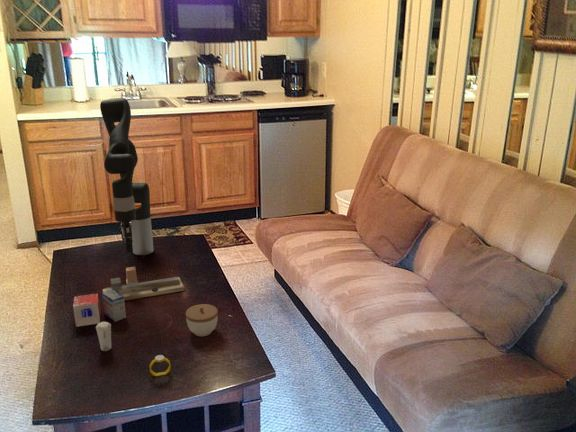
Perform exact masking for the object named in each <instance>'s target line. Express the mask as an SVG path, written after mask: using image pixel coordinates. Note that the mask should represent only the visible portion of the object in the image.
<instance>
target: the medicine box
mask: <svg viewBox="0 0 576 432" xmlns="http://www.w3.org/2000/svg"><path fill="white" fill-rule="evenodd" d="M101 296H102V297H101V299H102V305H103V306H102V307H103V308H102V309H103V314H104V315H105V316H106V317H108V318H109V319H110V320H112V321H113V322H115V323H116V322H118V321H121V320H124V319H126V318H127V315H126V305H125V301H124V297H123V296H122V295H120V294H119V293H117V292H115V291H114V290H110V291H107V292H104V293H103V292H102V293H101Z"/></svg>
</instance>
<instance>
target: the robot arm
mask: <svg viewBox="0 0 576 432" xmlns="http://www.w3.org/2000/svg"><path fill="white" fill-rule="evenodd" d="M99 105H100V107H99V108H100V113H101V116H102V117H101V118H102V119H103V121H104V125H105V129H106V131H107V135H108V146H109V147H108V148H109V149H108V151H107V153H106V156H105V159H104V162H103V163H104V164H103V165H104V169H105V171H106V173H108V174H110V175H119V177H120V178H118V179H115V180H113V181H112V182H111V183H112V184H111V189H112V196H113V197H112V198H113V199H112V205H113V206H112V207H113V214H114V221H116V222H117V223H120V225H119V226H120V229H121V230H120V231H121V233H122V238H123V243H124V245H125V251H126V253H133V254H134V255H136V256H146V255H150V254H153V252H154V240H153V230H152V229H153V228H152V227H153V226H152V219H151V218H152V217H151V201H150V200H151V197H150V195H151V193H150V187H149V184H148V183H146V182H133V179H134V178H133V177H134V172H135V169H136V166H137V164H138V160H139V159H138V154H137V150H136V146H135V143H133V142H132V141H131V140H130V139H129V135H130V134H129V133H130V127H131V120H132V119H131V118H132V110H131V106H130V102H129V101H128V99H127V98H123V97H119V98H110V99H103V100H102V101H101V102H100V104H99ZM116 123H117V125H116ZM136 204H140V206H139V207H137V208H136Z"/></svg>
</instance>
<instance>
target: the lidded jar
mask: <svg viewBox="0 0 576 432" xmlns="http://www.w3.org/2000/svg"><path fill="white" fill-rule="evenodd" d="M218 315H219V311H218V308H217V307H216V306H215V305H212V304H209V303H208V304H207V303H200V304H195V305H192V306H190V307H188V308H187V310H186V311H185V318H186V324H187V327H188V329H189V330H190V332H191V333H193V334H194V335H195V336H197V337H206V336H209V335H211V334H212V332H213V331H215V329H216V327H217V324H218V320H219V318H218Z"/></svg>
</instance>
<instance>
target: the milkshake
mask: <svg viewBox="0 0 576 432" xmlns="http://www.w3.org/2000/svg"><path fill="white" fill-rule="evenodd" d="M95 330H96V334H97V337H98V342H99V347H100V350H101V351H103V352H108V351H110V350H111V349H112V324H111V323H110V322H107V321H100V323H98V324H96V326H95Z"/></svg>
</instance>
